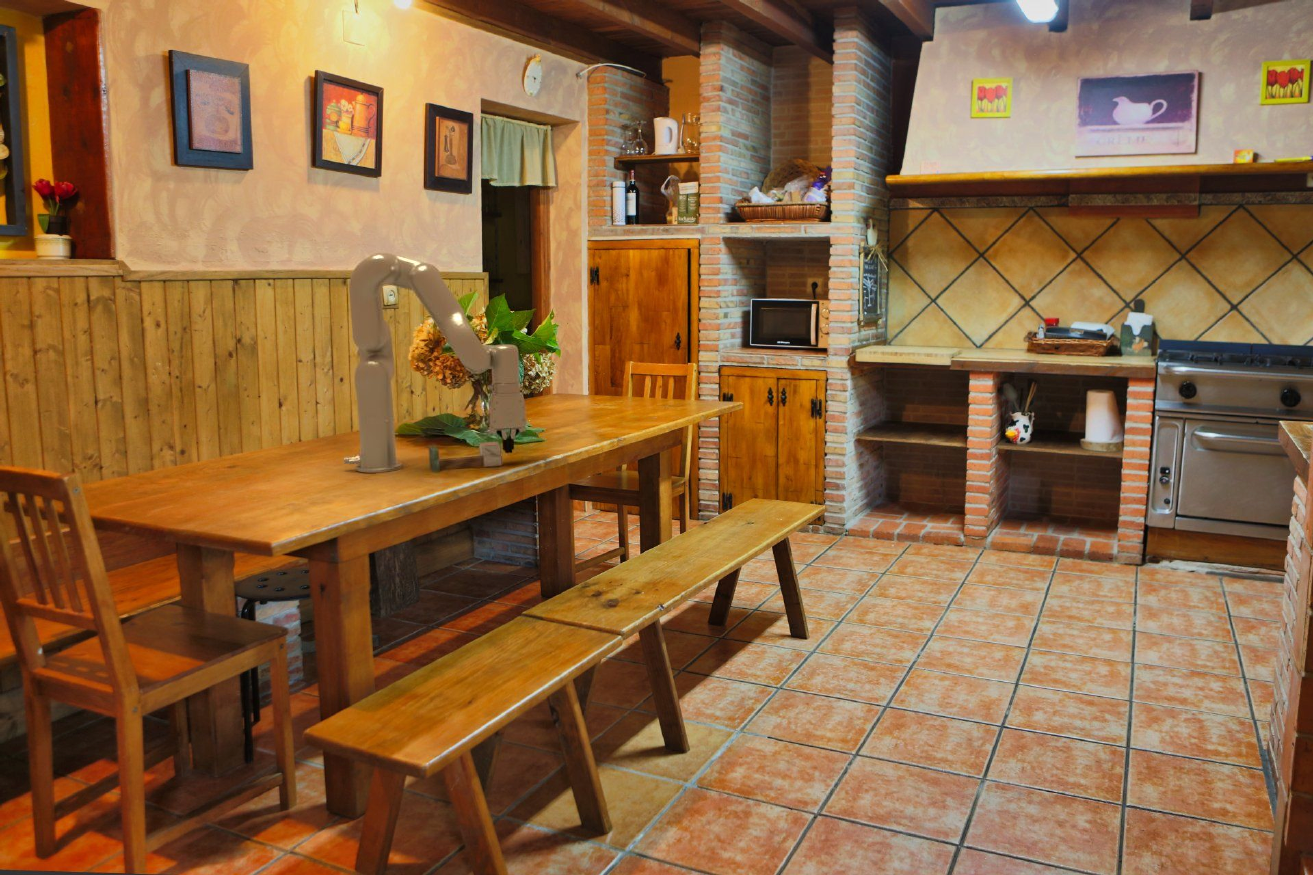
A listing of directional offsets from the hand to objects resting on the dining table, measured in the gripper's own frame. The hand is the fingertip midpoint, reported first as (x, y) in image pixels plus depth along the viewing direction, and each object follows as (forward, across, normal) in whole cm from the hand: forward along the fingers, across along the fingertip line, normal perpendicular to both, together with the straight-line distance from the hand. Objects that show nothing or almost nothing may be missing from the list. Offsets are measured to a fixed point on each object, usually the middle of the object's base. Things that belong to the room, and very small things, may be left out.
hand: (508, 452), depth 296 cm
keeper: (+3, -5, 0) cm, 6 cm away
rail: (+3, -11, 0) cm, 12 cm away
